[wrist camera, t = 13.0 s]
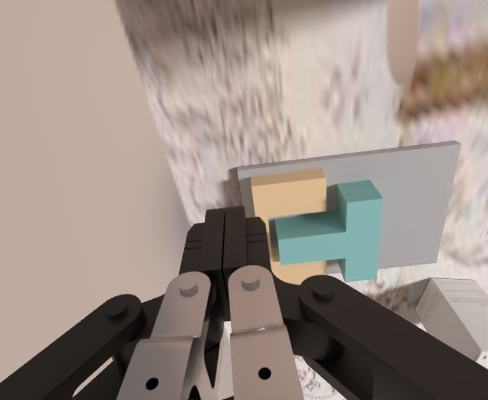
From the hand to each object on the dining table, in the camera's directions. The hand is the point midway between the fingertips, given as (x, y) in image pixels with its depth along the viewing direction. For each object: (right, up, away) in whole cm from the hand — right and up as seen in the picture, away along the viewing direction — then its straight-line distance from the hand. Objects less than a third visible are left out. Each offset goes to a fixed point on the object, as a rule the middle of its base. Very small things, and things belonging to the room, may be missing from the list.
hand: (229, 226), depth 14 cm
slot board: (+14, -1, +32) cm, 35 cm away
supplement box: (+32, -14, +40) cm, 53 cm away
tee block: (+11, -2, +32) cm, 34 cm away
